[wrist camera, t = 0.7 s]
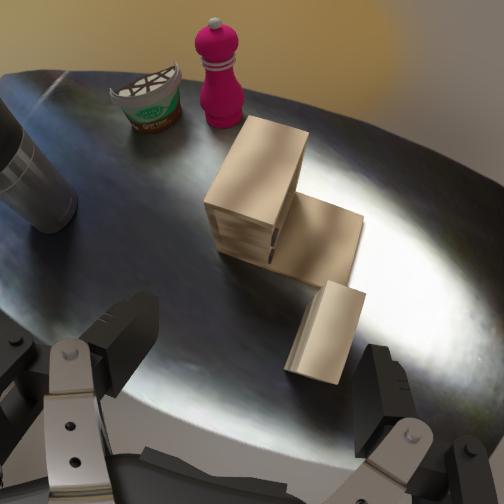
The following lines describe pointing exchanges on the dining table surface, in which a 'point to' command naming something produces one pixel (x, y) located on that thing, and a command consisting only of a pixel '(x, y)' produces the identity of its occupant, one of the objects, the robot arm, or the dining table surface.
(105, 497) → the robot arm
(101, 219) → the dining table surface
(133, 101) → the food container
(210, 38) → the pepper mill
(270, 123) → the cabinet
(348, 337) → the door
